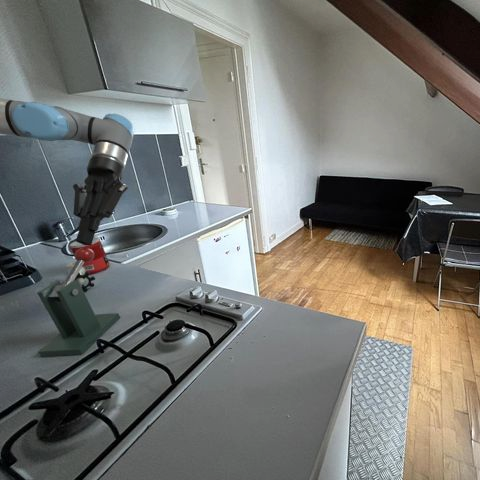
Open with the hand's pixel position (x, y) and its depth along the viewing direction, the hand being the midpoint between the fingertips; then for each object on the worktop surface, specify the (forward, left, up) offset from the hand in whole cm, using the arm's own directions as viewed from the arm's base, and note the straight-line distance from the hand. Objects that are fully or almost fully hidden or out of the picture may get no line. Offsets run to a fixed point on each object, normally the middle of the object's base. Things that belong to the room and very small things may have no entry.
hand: (83, 243), depth 63 cm
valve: (-20, +14, -20) cm, 32 cm away
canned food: (-24, +25, -20) cm, 40 cm away
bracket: (0, -10, -20) cm, 22 cm away
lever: (0, -4, -7) cm, 8 cm away
